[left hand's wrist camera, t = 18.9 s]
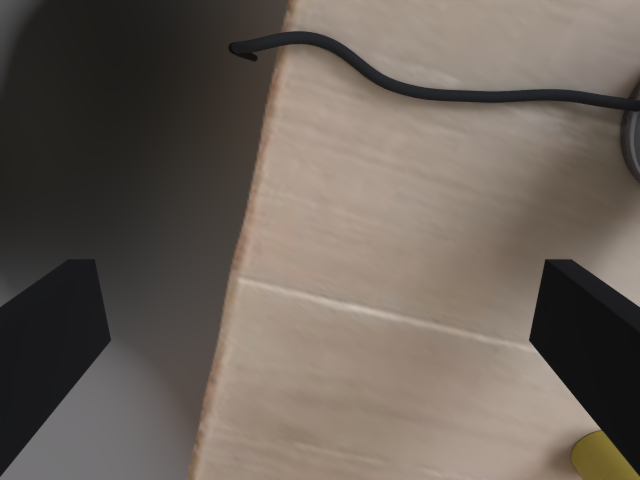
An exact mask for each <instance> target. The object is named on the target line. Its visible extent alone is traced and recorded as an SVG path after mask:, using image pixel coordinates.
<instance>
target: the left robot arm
mask: <svg viewBox="0 0 640 480" xmlns="http://www.w3.org/2000/svg"><path fill="white" fill-rule="evenodd" d="M289 44H308V45H314V46H318V47H321V48H324V49H326V50H329V51H331V52H332V53H334V54H336V55H338V56H339V57H341V58H342V59H343V60H345V61H346V62H347V63H349V64H350V65H351V66H352V67H354V68H355V69H356V70H357V71H359V72H360V73H361V74H362V75H364V76H365V77H366V78H368V79H369V80H371V81H372V82H374V83H375V84H377V85H379V86H381V87H383V88H385V89H387V90H390V91H392V92H396V93H399V94H402V95H406V96H410V97H415V98H420V99H427V100H437V101H458V102H482V103H501V102H520V101H542V100H549V101H568V102H576V103H582V104H588V105H593V106H600V107H606V108H613V109H620V110H625V113H624V117H623V122H622V128H621V146H622V152H623V156H624V159H625V162H626V164H627V166H628V168H629V170H630V171H631V173H632V174H633V176H634V177H635V178H636V179H637V180H638V181H639V182H640V81H639V83H638V84H637V86H636V88H635V90H634V91H633V93H632V95H631V97H630V99H626V98H619V97H612V96H605V95H599V94H593V93H587V92H581V91H573V90H558V89H540V90H520V91H500V92H487V91H463V90H442V89H431V88H424V87H418V86H414V85H409V84H406V83H402V82H399V81H396V80H394V79H391V78H389V77H387V76H385V75H383V74H381V73H380V72H378V71H377V70H375V69H374V68H373V67H371V66H370V65H369V64H367V63H366V62H365V61H364V60H363V59H361V58H360V57H359V56H358V55H356V54H355V53H354V52H353V51H351V50H350V49H349V48H347V47H346V46H344V45H343V44H341V43H339V42H337V41H336V40H334V39H332V38H329V37H327V36H324V35H320V34H317V33H312V32H303V31H294V32H285V33H279V34H274V35H269V36H266V37H261V38H257V39H253V40H248V41H241V42H232V43H230V44H229V46H228V49H229V52H231V53H232V54H234V55H236V56H238V57H241V58H244V59H247V60H250V61H253V62H256V61H257V60H258V57H257V55H255V54H253V53H251V52H256V51H261V50H265V49H269V48H273V47H278V46H283V45H289ZM110 341H111V338H110V333H109V328H108V323H107V318H106V313H105V308H104V303H103V298H102V293H101V288H100V283H99V279H98V274H97V269H96V264H95V260H94V259H68V260H67V261H66V262H64V263H63V264H61V265H60V266H58V267H57V268H55V269H54V270H53V271H51V272H50V273H48V274H47V275H45V276H44V277H43V278H41V279H40V280H38V281H37V282H36V283H34V284H33V285H31V286H30V287H28V288H27V289H26V290H24V291H23V292H21V293H20V294H18V295H17V296H16V297H14V298H13V299H11V300H10V301H8V302H7V303H6V304H4V305H3V306H1V307H0V476H1V475H2V474H3V473H4V471H5V470H6V469H7V468H8V467H9V465H10V464H11V463H12V462H13V460H14V459H15V458H16V457H17V456H18V454H19V453H20V452H21V451H22V449H23V448H24V447H25V446H26V444H27V443H28V442H29V441H30V440H31V438H32V437H33V436H34V435H35V433H36V432H37V431H38V430H39V428H40V427H41V426H42V425H43V423H44V422H45V421H46V420H47V418H48V417H49V416H50V415H51V414H52V412H53V411H54V410H55V409H56V407H57V406H58V405H59V404H60V403H61V401H62V400H63V399H64V398H65V396H66V395H67V394H68V393H69V391H70V390H71V389H72V388H73V387H74V385H75V384H76V383H77V382H78V380H79V379H80V378H81V377H82V375H83V374H84V373H85V372H86V370H87V369H88V368H89V367H90V366H91V364H92V363H93V362H94V361H95V359H96V358H97V357H98V356H99V354H100V353H101V352H102V351H103V350H104V348H105V347H106V346H107V345H108V343H109V342H110ZM529 341H530V342H531V343H532V345H533V346H534V347H535V348H536V350H537V351H538V352H539V353H540V354H541V356H542V357H543V358H544V359H545V361H546V362H547V363H548V364H549V366H550V367H551V368H552V369H553V371H554V372H555V373H556V374H557V375H558V377H559V378H560V379H561V380H562V382H563V383H564V384H565V385H566V387H567V388H568V389H569V390H570V391H571V393H572V394H573V395H574V396H575V398H576V399H577V400H578V401H579V403H580V404H581V405H582V406H583V407H584V409H585V410H586V411H587V412H588V414H589V415H590V416H591V417H592V419H593V420H594V421H595V422H596V423H597V425H598V426H599V427H600V428H601V430H602V431H603V432H604V433H605V435H606V436H607V437H608V438H609V440H610V441H611V442H612V443H613V444H614V446H615V447H616V448H617V449H618V451H619V452H620V453H621V454H622V456H623V457H624V458H625V459H626V460H627V462H628V463H629V464H630V465H631V467H632V468H633V469H634V470H635V472H636V473H637V474H638V475H639V476H640V307H639V306H637V305H636V304H634V303H633V302H632V301H630V300H629V299H627V298H626V297H624V296H623V295H622V294H620V293H619V292H617V291H616V290H614V289H613V288H612V287H610V286H609V285H607V284H606V283H605V282H603V281H602V280H600V279H599V278H597V277H596V276H595V275H593V274H592V273H590V272H589V271H587V270H586V269H585V268H583V267H582V266H580V265H579V264H577V263H576V262H575V261H573V260H572V259H545V264H544V269H543V273H542V278H541V283H540V288H539V293H538V298H537V303H536V308H535V313H534V318H533V323H532V328H531V333H530V338H529Z"/></svg>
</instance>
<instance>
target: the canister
mask: <svg viewBox="0 0 640 480" xmlns="http://www.w3.org/2000/svg"><path fill="white" fill-rule="evenodd" d="M571 462H572V465H573V466H574V468H575V469H576V471H577V472H578V474H579V475H580V477H581V478H582V480H640V476H639V475H638V474H637V473H636V472H635V470H634V469H633V468H632V467H631V465H630V464H629V463H628V462H627V460H626V459H625V458H624V457H623V456H622V454H621V453H620V452H619V451H618V449H617V448H616V447H615V446H614V444H613V443H612V442H611V441H610V440H609V438H608V437H607V436H606V435H605V433H604V432H603V431H597V432H594V433H591V434H589V435H587V436H585V437H584V438H582V439H581V440H580V441H579V442H578V443H577V444H576V445H575V446H574V448H573V450H572V453H571Z"/></svg>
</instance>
